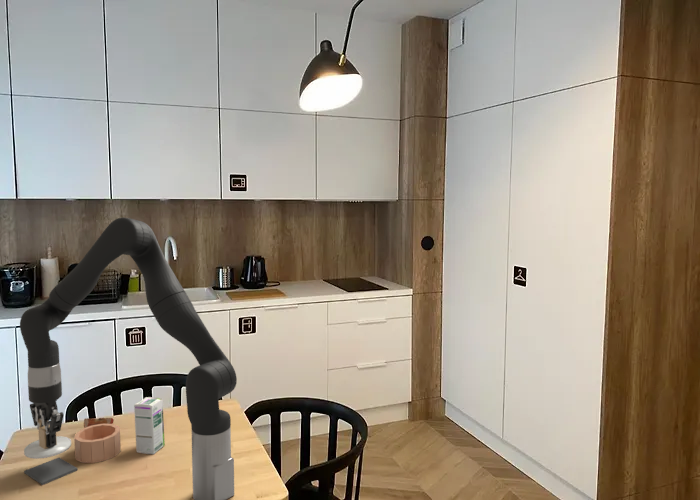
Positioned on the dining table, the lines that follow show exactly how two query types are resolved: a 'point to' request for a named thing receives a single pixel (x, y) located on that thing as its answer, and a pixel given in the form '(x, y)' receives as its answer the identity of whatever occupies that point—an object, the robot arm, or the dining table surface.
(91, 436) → the bowl
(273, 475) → the dining table surface
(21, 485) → the dining table surface
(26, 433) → the dining table surface
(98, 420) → the fruit slice
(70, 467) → the mat
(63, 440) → the lid
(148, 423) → the syrup box
